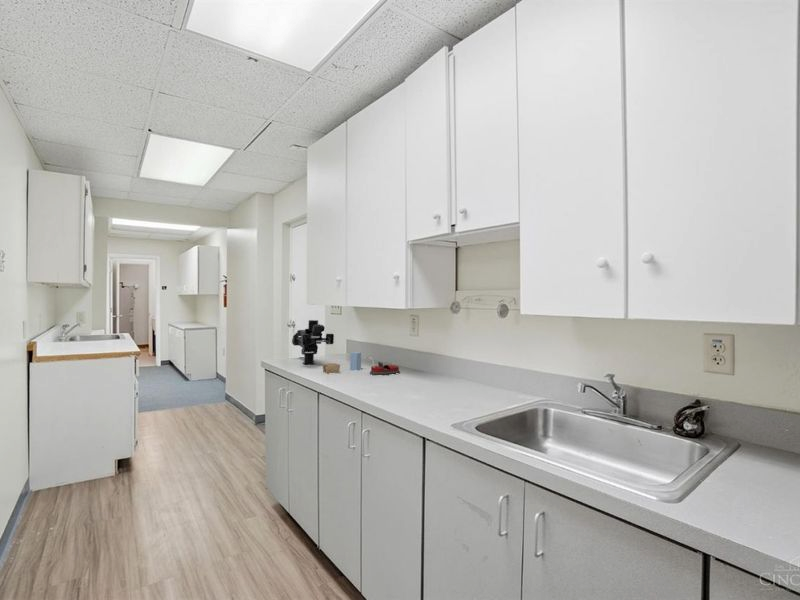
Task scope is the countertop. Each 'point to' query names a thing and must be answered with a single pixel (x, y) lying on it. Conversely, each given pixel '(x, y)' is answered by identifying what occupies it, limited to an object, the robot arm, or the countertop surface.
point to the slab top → (331, 366)
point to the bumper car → (383, 369)
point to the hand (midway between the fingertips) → (322, 341)
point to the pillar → (355, 361)
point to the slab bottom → (330, 371)
